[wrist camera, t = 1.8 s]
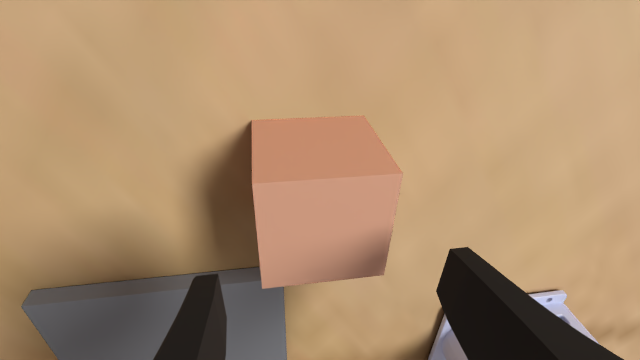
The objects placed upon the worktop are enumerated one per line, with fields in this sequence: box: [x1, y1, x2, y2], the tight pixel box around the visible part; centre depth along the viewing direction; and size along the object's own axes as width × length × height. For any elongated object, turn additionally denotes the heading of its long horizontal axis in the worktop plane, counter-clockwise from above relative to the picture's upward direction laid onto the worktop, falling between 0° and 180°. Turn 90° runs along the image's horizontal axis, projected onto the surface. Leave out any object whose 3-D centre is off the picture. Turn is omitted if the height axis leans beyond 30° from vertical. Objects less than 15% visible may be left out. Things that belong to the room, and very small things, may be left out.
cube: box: [252, 116, 403, 289], centre depth 15 cm, size 5×5×5 cm
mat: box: [21, 267, 287, 360], centre depth 22 cm, size 13×13×1 cm
